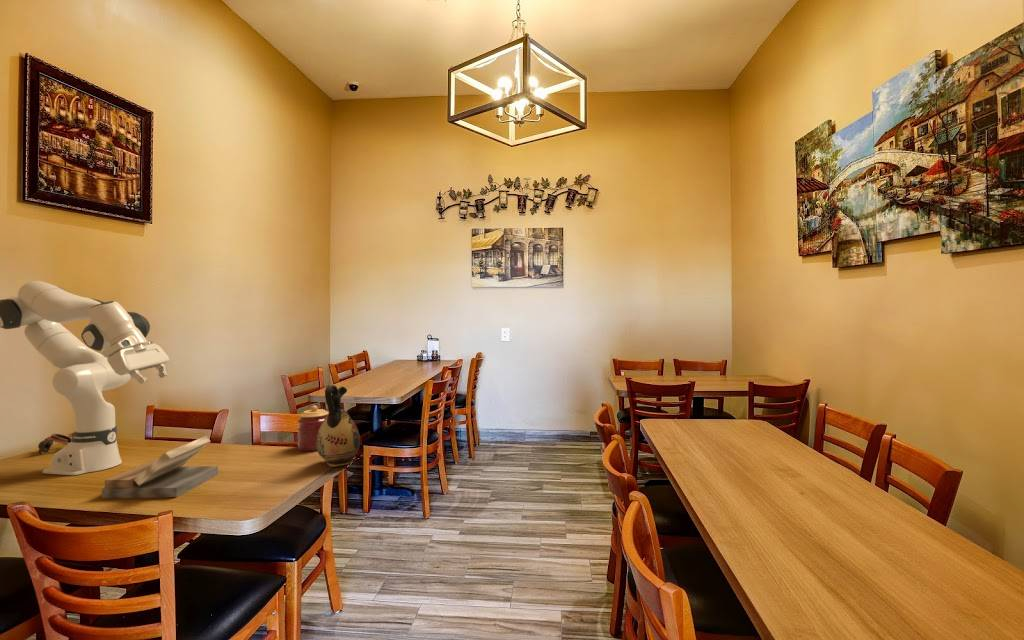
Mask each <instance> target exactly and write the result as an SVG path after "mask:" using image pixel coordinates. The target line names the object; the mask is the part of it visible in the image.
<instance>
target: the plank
mask: <svg viewBox="0 0 1024 640" xmlns="http://www.w3.org/2000/svg"><path fill="white" fill-rule="evenodd" d="M209 443H211V440H210V438H209V437H208V436H207V435H204V436H202V437H200V438H197V439H195V440H193V441H190V442H187V443H185V444H182V445H180V446H178V447H174V448H173V449H169V450H168V451H166V452H164V453H163V454H162V455H161V456H160V457H158V458H157V459H156V461H155V462H154V463H153V464H151V465H150V466H149V467H148V468H147V469H146V470H144V471H143V472H142V473H141V474H140V475H139V476H138V477H136V478H135V479H134V481H135V482H136V483H137V484H138V485H139V486H140V485H142V484H144V483H146V482H148V481H150V480H153V479H155V478H157V477H159V476H161V475H163V474H165V473H168V472H170V471H172V470H174V469H176V468H178V467H184V465H185V464H186V463H187V462H189V461H190V460H191V459H192V458H193V457H194V456H196V455H197V454H198V453H199V452H200V451H201V450H202V449H203V448H205V447H206V446H207V445H209Z"/></svg>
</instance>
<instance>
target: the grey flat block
mask: <svg viewBox="0 0 1024 640" xmlns="http://www.w3.org/2000/svg"><path fill="white" fill-rule="evenodd" d="M156 460H157V459H156ZM156 460H155V459H153V460H150V461H147V462H144V463H143V464H141V465H137V466H135V467H133V468H131V469H128V470H125V471H124V472H120V473H118V474H115V475H114V476H112V477H109V478H106V479H104V487H103V488H101V499H150V498H151V499H153V498H155V499H156V498H157V499H159V498H160V499H161V498H162V499H163V498H164V499H165V498H167V497H175V498H179V497H180V496H182V495H184V494H186V493H188V492H189V491H191V490H192V488H193V489H195V488H196V487H198V486H200V485H201V483H202V484H204V483H206V482H207V481H209V480H211V479H213V478H215V477H216V476H218V475H219V466H218V465H212V466H211V465H202V466H198V465H197V466H191V465H189V466H188V465H187V466H180V467H178V468H176V469H174V470H172V471H170V472H168V473H165V474H163V475H161V476H159V477H157V478H155V479H153V480H150V481H148V482H146V483H144V484H142V485H140V486H139V485H138V484H137V483H136V482H135V481H134V479H135V478H136V477H138V476H139V475H140V474H141V473H142V472H143V471H144V470H146V469H147V468H148V467H149V466H150V465H151V464H153V463H154V462H155V461H156ZM217 474H218V475H217ZM215 475H216V476H215ZM212 477H213V478H212ZM210 478H211V479H210ZM208 479H209V480H208ZM203 482H204V483H203ZM194 487H195V488H194ZM185 492H186V493H185Z"/></svg>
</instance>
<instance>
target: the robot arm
mask: <svg viewBox="0 0 1024 640" xmlns="http://www.w3.org/2000/svg"><path fill="white" fill-rule="evenodd" d="M17 292H18V293H17V294H16V295H13V296H11V297H7V298H4V299H0V328H1V329H4V330H11V329H18V328H19V329H20V327H22V326H25V328H24V336H25V337H26V339H27V341H29V343H30V344H31V345H32V346H33V348H34V349H35V350H36V351H38V352H39V353H40V355H42V356H43V357H44V358H45V359H46V360H47V361H49V363H51V364H52V365H53V366H55V367H56V368H58V370H57V371H56V372H55V373H54V375H53V377H52V381H51V383H52V386H53V388H54V390H55V391H56V392H57V393H58V394H60V395H62V396H63V397H65V398H66V399H67V400H68V401H69V403H70V405H71V407H72V409H73V412H74V423H75V431H74V432H72V433H68V434H67V435H68V436H67V437H69V438H71V442H70V443H69V444H67V445H66V444H65V446H63V447H61V448H60V449H59V450H58V451H57V452H55V453H54V454H53V456H52V460H51V465H50V466H48V467H45V468H44V469H43V470H42V474H51V475H64V476H77V475H82V474H86V473H93V472H98V471H103V470H106V469H107V470H108V469H110V468H114V467H116V466H119V465H121V464H122V463H123V460H122V458H121V455H120V451H119V446H118V441H117V437H118V426H116V408H115V407H116V406H114V404H112V403H110V402H109V401H106V400H105V398H104V396H103V391H109V390H114V389H117V388H119V387H122V386H124V385H126V384H127V383H129V382H130V381H131V378H133V379H135V380H136V381H137V382H138V383H139V384H140V385H142V384H145V383H147V382H148V378H147V377H146V376H143V375H142V374H141V373H140V372H141V371H142V372H143V371H145V370H149V369H154V368H155V369H156V370H158V374H157V375H158V376H159V378H160V379H163V378H166V377H167V376H168V372H167V371H166V366H165V365H166V364H167V363H168V362H170V357H169V355H168V354H167V353H166V352H165V351H164V350H163V348H162V347H161V346H160V345H159V344H157V343H154V342H152V341H148V340H147V339H146V337H147V336H148V334H149V333H150V330H151V324H150V322H149V320H148V319H147V318H146V317H145V316H143V315H141V314H140V313H138V312H135V311H127V310H126V309H125V308H124V306H122V305H121V304H120V303H119V302H118V301H115V300H109V301H103V300H99V299H97V298H91V297H86V296H85V297H84V296H81V295H77V294H74V293H71V292H69V291H67V290H65V289H64V288H62V287H60V286H56V285H55V284H52V283H49V282H45V281H42V280H32V281H28V282H26V283H24V284H23V285H21V287H20V288H19V289H18V291H17ZM86 320H89V323H88V325H86V326H85V327H84V329H83V330H82V332H81V339H82V341H83V342H82V341H81V340H80V339H79V338H78V337H77V336H76V335H75V334H74V333H72V332H71V331H70V330H69V329H68V328H66V327H65V326H63V325H62V323H63V324H66V323H72V322H77V321H78V322H79V321H86Z"/></svg>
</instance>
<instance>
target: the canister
mask: <svg viewBox="0 0 1024 640" xmlns="http://www.w3.org/2000/svg"><path fill="white" fill-rule="evenodd" d="M328 413H329V411H327V410H325V409H323V408H318V406H317V405H312V406H311V407H310V409H307V410H304V411H302V413H300V414H299V419H297V423H298V427H297V439H298V442H297V447H298V450H299V451H301V452H316V451H317V446H316V441H317V435H318V432H319V429H320V427H321V425H322V423H323V421H324V420H325V418H326V416H327V415H328ZM317 452H318V451H317Z"/></svg>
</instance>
